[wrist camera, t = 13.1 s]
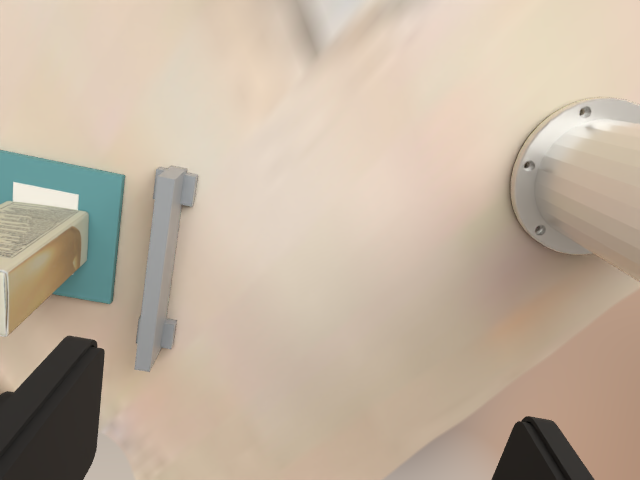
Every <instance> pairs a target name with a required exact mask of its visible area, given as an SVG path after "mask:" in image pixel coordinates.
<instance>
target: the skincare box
mask: <svg viewBox="0 0 640 480" xmlns="http://www.w3.org/2000/svg"><path fill="white" fill-rule="evenodd" d="M88 226H89V215H88V213H87V212H86V211H80V210H75V209H68V208H62V207H55V206H47V205H40V204H32V203H23V202H13V201H6V202H4V203H2V204H0V336H5V337H6V336H8V335H9V334H10V333H11V332H12V331H13V330H14V329H15V328H16V327H18V326H19V325H20V324H21V323H22V322H23V321H24V320H25V319H26V318H27V317H28V316H29V315H30V314H31V313H32V312H33V311H34V310H35V309H36V308H38V307H39V306H40V305H41V304H42V303H43V302H44V301H45V300H46V299H47V298H48V297H49V296H50V295H51V294H52V293H53V292H54V291H55V290H56V289H57V288H59V287H60V286H61V285H62V284H63V283H64V282H65V281H66V280H67V279H68V278H69V277H70V276H71V275H72V274H73V273H74V272H75V271H76V270H77V269H78V268H80V267H81V266H82V265H83V264H84V263H85V262H86V261H87V250H88Z"/></svg>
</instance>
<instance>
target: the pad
mask: <svg viewBox="0 0 640 480" xmlns="http://www.w3.org/2000/svg"><path fill="white" fill-rule="evenodd" d="M124 180H125V175H121V174H116V173H112V172H107V171H102V170H97V169H92V168H87V167H82V166H77V165H72V164H67V163H62V162H57V161H52V160H47V159H43V158H38V157H33V156H28V155H23V154H18V153H13V152H8V151H3V150H0V204H2V203H4V202H6V201H13V202H23V203H32V204H40V205H47V206H55V207H62V208H68V209H75V210H80V211H86V212H87V213H88V215H89V226H88V250H87V261H86V262H85V263H84V264H83V265H82V266H81V267H80V268H78V269H77V270H76V271H75V272H74V273H73V274H72V275H71V276H70V277H69V278H68V279H67V280H66V281H65V282H64V283H63V284H62V285H61V286H60V287H59V288H57V289H56V290H55V291H54V292H53V293H52V294H56V295H61V296H67V297H73V298H79V299H84V300H90V301H96V302H102V303H107V304H110V303H111V302H112V301H113V292H114V282H115V272H116V261H117V251H118V241H119V231H120V221H121V211H122V200H123V190H124Z"/></svg>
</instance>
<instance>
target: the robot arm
mask: <svg viewBox="0 0 640 480" xmlns="http://www.w3.org/2000/svg"><path fill="white" fill-rule="evenodd" d="M580 110H582V112H581V114H580ZM526 162H527V166H526V167H524V164H525V163H526ZM511 200H512V205H513V210H514V212H515V214H516V217H517V219H518V221H519V223H520V224H521V226H522V227H523V228H524V230H525V231H526V232H527V233H528V234H529V235H530V236H531V237H532V238H534V239H535V240H536V241H537V242H539V243H541V244H542V245H543V246H545V247H547V248H549V249H552V250H554V251H556V252H560V253H565V254H570V255H587V254H593V253H594V254H595V255H597V256H598V257H600V258H602V259H603V260H605V261H607V262H608V263H610V264H611V265H613V266H615V267H616V268H618V269H619V270H621V271H623V272H624V273H626V274H628V275H629V276H631V277H632V278H634V279H636V280H637V281H639V282H640V105H639V104H636V103H633V102H631V101H628V100H624V99H617V98H602V97H596V98H590V99H585V100H580V101H578V102H575V103H572V104H569V105H567V106H565V107H563V108H561V109H560V110H558V111H556V112H554V113H553V114H551V115H550V116H549V117H548V118H546V119H545V120H544V121H543V122H542V123H540V124H539V125H538V126H537V128H536V129H535V130H534V131H533V132H532V133H531V135H530V136H529V137H528V138H527V140H526V142H525V143H524V145H523V146H522V148H521V150H520V152H519V154H518V157H517V159H516V162H515V164H514V167H513V172H512V177H511ZM537 226H538V228H537V229H536V227H537ZM103 366H104V349H102V348H97V342H96V341H95V340H91V339H85V338H80V337H74V336H67V337H65V338H64V339H63V340H62V341H61V342H60V344H59V345H58V346H57V347H56V348H55V349H54V350H53V351H52V352H51V353H50V354H49V355H48V356H47V358H46V359H45V360H44V361H43V362H42V363H41V364H40V365H39V366H38V367H37V368H36V369H35V370H34V371H33V373H32V374H31V375H30V376H29V377H28V378H27V379H26V380H25V381H24V382H23V383H22V384H21V385H20V387H19V388H18V389H17V390H16V391H15V392H8V391H7V392H4V393H2V394H1V395H0V480H83V479H84V477H85V475H86V473H87V472H88V470H89V468H90V466H91V464H92V462H93V459H94V456H95V452H96V448H97V437H98V425H99V413H100V401H101V390H102V378H103ZM492 480H594V478H593V477H592V475H591V474H590V473H589V471H588V470H587V468H586V467H585V465H584V464H583V462H582V461H581V460H580V458H579V457H578V455H577V454H576V452H575V451H574V450H573V448H572V446H571V445H570V444H569V442H568V441H567V439H566V438H565V436H564V435H563V433H562V432H561V431H560V429H559V428H558V426H557V425H556V424H555V423H554V422H553V421H551V420H546V419H541V418H535V417H529V416H528V417H525V418H524V419H523V420H522V421H521V422H520V421H519V422H517V423H516V424H515V425H514V427H513V430H512V432H511V434H510V437H509V439H508V442H507V444H506V446H505V449H504V452H503V454H502V456H501V458H500V461H499V463H498V466H497V468H496V470H495V473H494V475H493V478H492Z"/></svg>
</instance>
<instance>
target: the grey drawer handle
mask: <svg viewBox="0 0 640 480" xmlns="http://www.w3.org/2000/svg"><path fill="white" fill-rule="evenodd" d="M197 179H198V175H196V174H191V173H187V169H185V168H181V167H176V166H170V167H169V168H168V169H167V168H162V167H159V168H157V169H156V177H155V186H154V194H153V199H155V202H154V211H153V219H152V227H151V236H150V244H149V252H148V261H147V269H146V277H145V286H144V294H143V302H142V311H141V316H140V318H139V321H138V329H137V338H136V343H137V353H136V361H135V370H141V371H148V372H150V370H151V368H152V366H153V364H154V362H155V360H156V358H157V356H158V354H159V352H160V350H161V348H167V349H171V348H172V346H173V343H174V337H175V330H176V323H177V320H172V319H166V317H167V310H168V303H169V296H170V288H171V281H172V274H173V267H174V260H175V252H176V245H177V238H178V231H179V223H180V216H181V209H182V205H186V206H191V207H192V206H193V204H194V200H195V193H196V186H197Z"/></svg>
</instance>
